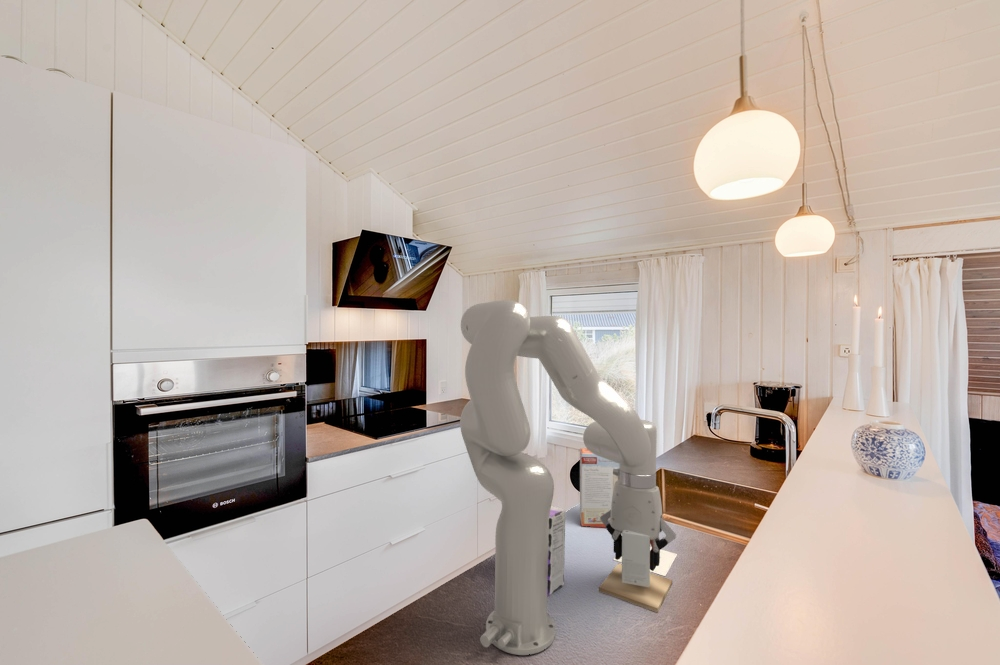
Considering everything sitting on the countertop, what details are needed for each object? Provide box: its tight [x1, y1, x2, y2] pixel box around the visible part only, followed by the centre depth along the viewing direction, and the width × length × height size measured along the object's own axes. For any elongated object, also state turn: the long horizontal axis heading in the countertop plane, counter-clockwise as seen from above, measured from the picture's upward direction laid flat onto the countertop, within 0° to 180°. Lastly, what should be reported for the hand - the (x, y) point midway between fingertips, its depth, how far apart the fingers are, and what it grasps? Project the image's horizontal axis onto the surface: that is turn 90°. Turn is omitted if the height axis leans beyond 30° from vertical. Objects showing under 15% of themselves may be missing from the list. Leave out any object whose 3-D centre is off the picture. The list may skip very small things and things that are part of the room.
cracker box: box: [579, 448, 619, 528], centre depth 123 cm, size 14×6×21 cm, turn 84°
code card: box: [612, 545, 678, 577], centre depth 105 cm, size 12×12×1 cm
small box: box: [621, 530, 651, 587], centre depth 92 cm, size 8×6×10 cm
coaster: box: [598, 562, 673, 613], centre depth 92 cm, size 12×12×1 cm
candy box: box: [547, 505, 567, 596], centre depth 95 cm, size 14×6×16 cm, turn 47°
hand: (635, 561), depth 92 cm, fingers closed on small box, 6 cm apart
